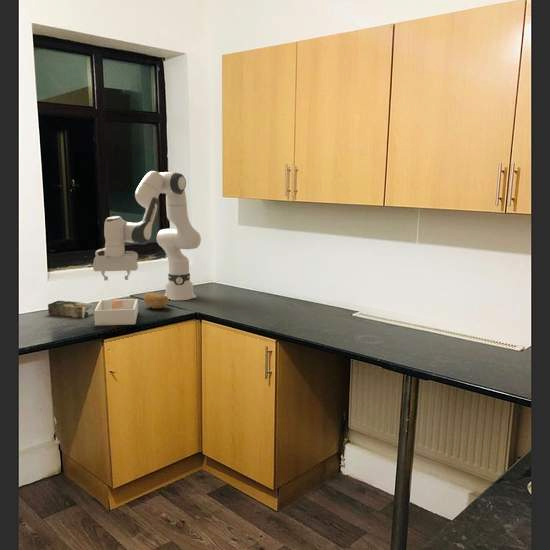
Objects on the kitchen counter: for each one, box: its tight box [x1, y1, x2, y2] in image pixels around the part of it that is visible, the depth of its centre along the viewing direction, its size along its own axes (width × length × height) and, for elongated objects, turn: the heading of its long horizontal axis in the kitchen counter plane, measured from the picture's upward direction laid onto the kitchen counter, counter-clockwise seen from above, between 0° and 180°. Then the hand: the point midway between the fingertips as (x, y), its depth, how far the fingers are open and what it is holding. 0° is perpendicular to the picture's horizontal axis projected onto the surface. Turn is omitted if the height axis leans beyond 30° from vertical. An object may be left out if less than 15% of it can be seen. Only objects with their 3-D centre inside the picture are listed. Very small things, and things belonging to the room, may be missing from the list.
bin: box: [93, 298, 139, 326], centre depth 265 cm, size 22×18×7 cm
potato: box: [143, 292, 169, 310], centre depth 287 cm, size 10×14×8 cm
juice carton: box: [47, 300, 94, 319], centre depth 272 cm, size 20×10×6 cm, turn 78°
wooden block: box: [111, 298, 123, 310], centre depth 265 cm, size 5×5×8 cm
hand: (116, 280), depth 263 cm, fingers open, 8 cm apart
